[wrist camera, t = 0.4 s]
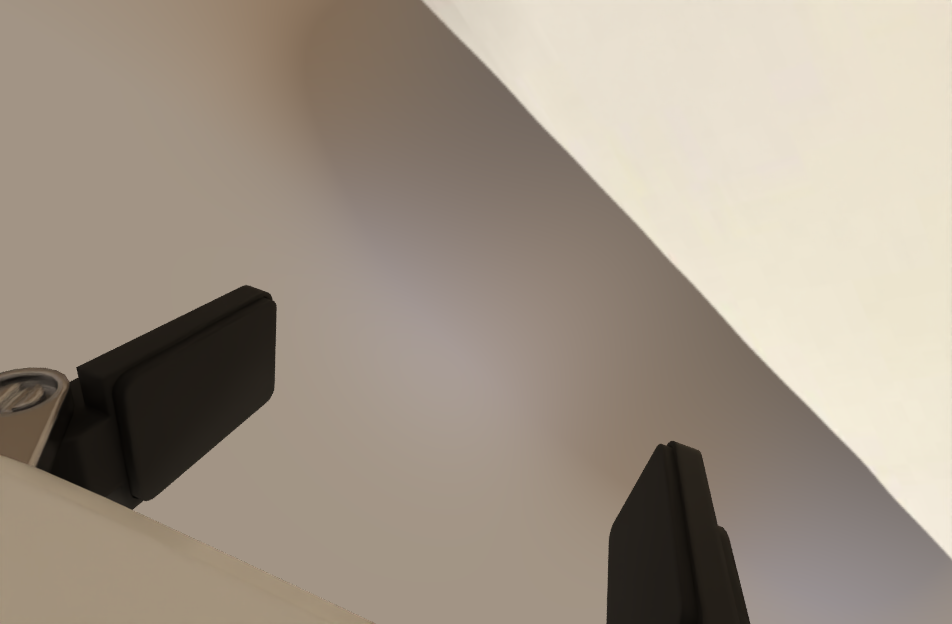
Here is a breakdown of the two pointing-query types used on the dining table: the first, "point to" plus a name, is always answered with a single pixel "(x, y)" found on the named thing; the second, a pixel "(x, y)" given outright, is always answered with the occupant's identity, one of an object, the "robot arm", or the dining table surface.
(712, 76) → the dining table surface
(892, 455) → the dining table surface
